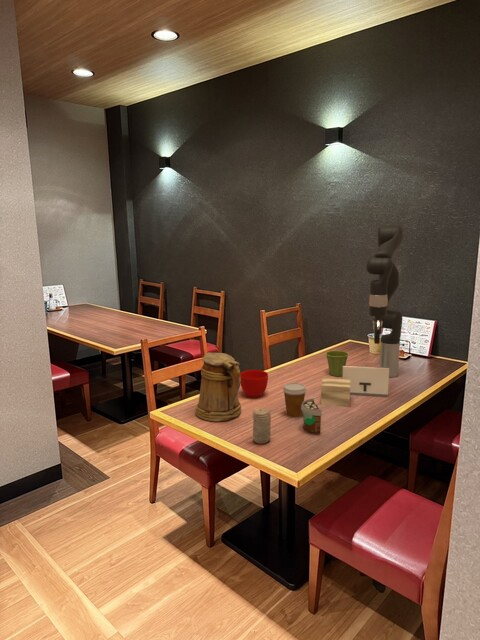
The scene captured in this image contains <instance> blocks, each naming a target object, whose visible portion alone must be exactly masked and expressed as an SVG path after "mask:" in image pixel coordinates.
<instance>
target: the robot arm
mask: <svg viewBox="0 0 480 640" xmlns="http://www.w3.org/2000/svg"><path fill="white" fill-rule="evenodd" d="M403 235H404V231H403V228H402V226H401V225H396V224H395V225H393V224H391V225H381V226H379V227H378V229H377V245H378V247H377V250H376V251H375V253H374V254H373V255H372V256H370V257H369V258H368V260H367V262H366V268H365V269H366V271H367V273H368V274H370V275H378V279H375V280H371V282H370V286H369V288H370V289H369V291H370V292H369V298H368V299H369V300H368V301H369V302H368V304H369V305H368V315H369V316H371V317H374V318H373V319H372V324H373V325H372V329H373V337H374V339H373V341H374V344H377V345H378V344H380V346H379V347H380V348H379V349H380V351H379V366H378V368H389V378H395V377H398V376H399V366H400V365H399V364H400V363H399V362H400V346H401V345H400V343H401V338H402V337H401V336H402V327H403V313H402V312H401V311H398V310H390V309H388V307H389V303H390V300H391V298H392V297H393V295H394V294H395V292H397V290H398V287H399V284H400V283H399V282H400V279H399V278H400V277H399V275H400V274H399V273H400V271H399V270H398V267H397V266H396V264H395V263H394V262H393V260H392V258H393V254H394V253H395V252H396V250H397V249H398V248H399V247H400V245H401V243H402V241H403ZM383 329H386V330H387V329H388V330H391V332H390V333H386V334H382V333H381V332H382V331H383Z"/></svg>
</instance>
